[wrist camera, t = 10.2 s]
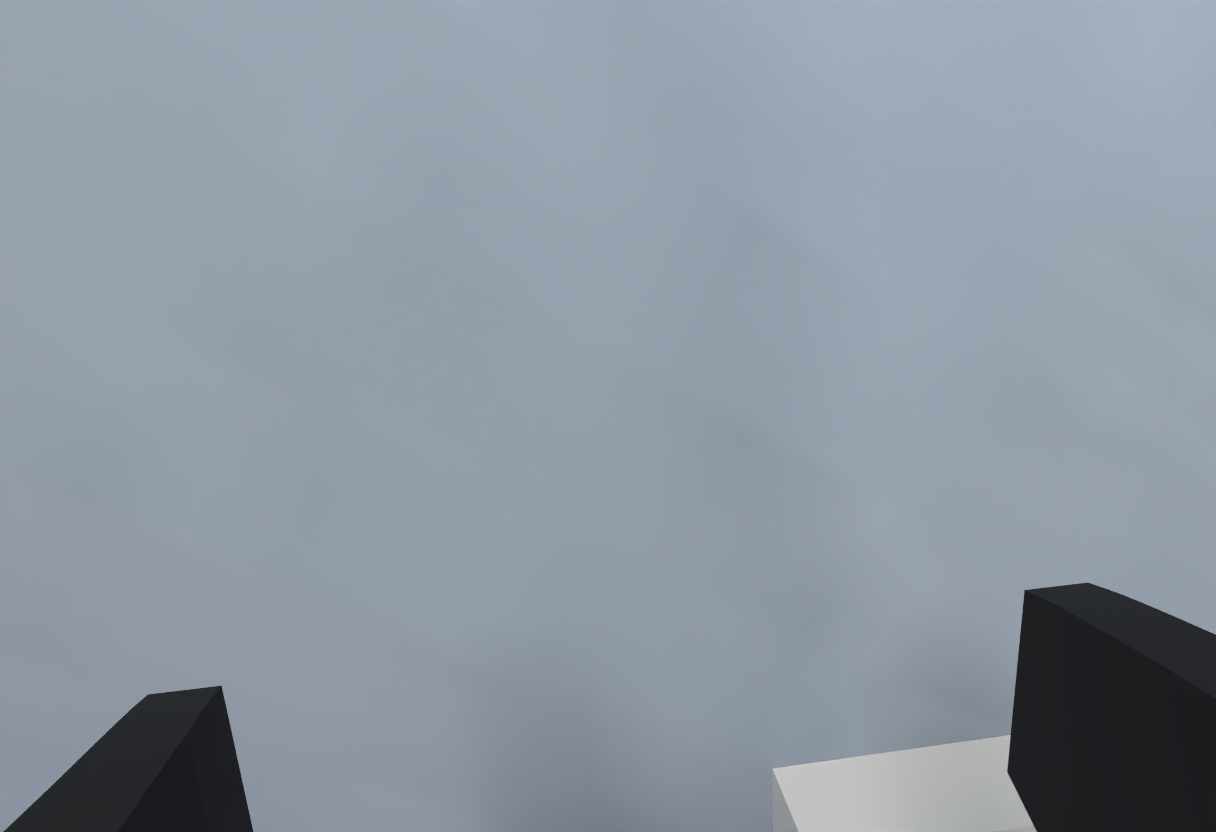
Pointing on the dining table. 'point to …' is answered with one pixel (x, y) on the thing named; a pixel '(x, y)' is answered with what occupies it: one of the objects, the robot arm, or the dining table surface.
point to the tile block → (903, 792)
